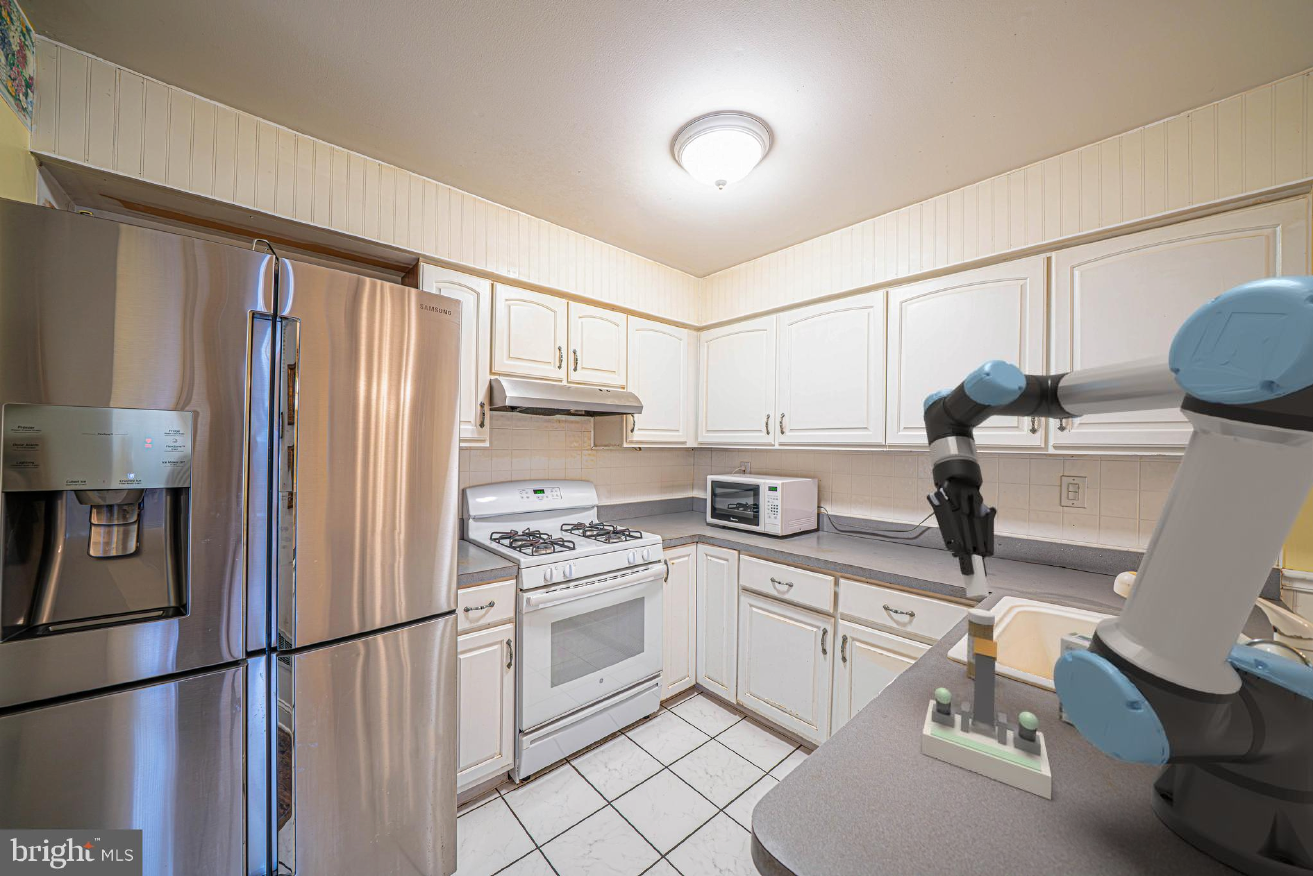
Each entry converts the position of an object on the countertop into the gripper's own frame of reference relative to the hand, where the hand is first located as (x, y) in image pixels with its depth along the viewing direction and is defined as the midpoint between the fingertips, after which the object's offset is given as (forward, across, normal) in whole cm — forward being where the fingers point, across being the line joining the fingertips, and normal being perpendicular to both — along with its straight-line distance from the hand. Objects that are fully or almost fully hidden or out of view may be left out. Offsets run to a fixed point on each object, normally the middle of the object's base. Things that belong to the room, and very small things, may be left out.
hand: (977, 596), depth 76 cm
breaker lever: (+18, -3, -5) cm, 19 cm away
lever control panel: (+22, -4, -7) cm, 23 cm away
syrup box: (+15, -28, -8) cm, 32 cm away
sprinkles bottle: (+8, -23, -23) cm, 34 cm away
